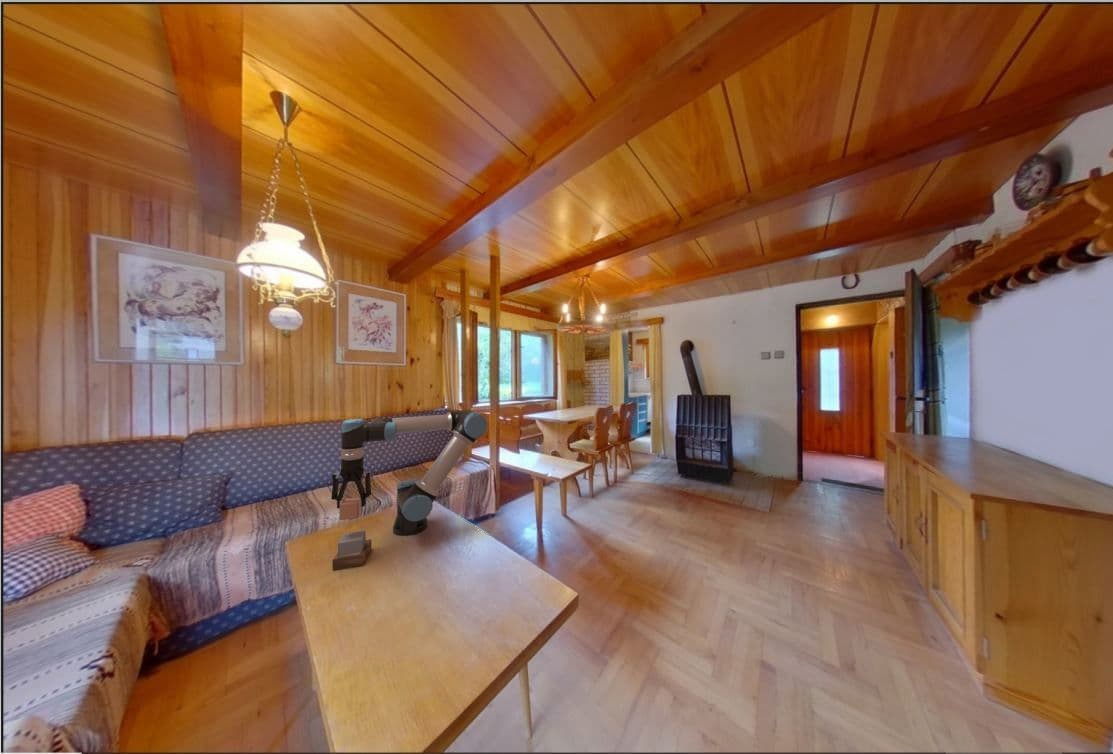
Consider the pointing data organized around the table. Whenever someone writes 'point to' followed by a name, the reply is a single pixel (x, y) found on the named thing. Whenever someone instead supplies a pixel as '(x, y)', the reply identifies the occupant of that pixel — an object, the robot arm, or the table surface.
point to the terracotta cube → (349, 509)
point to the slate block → (351, 543)
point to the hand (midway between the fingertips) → (351, 515)
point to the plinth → (352, 558)
